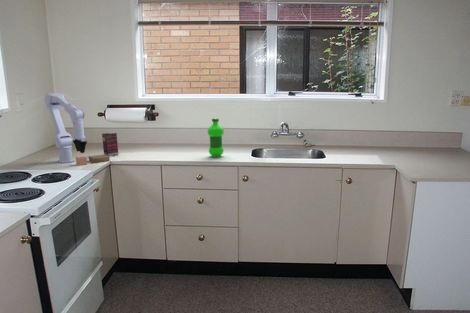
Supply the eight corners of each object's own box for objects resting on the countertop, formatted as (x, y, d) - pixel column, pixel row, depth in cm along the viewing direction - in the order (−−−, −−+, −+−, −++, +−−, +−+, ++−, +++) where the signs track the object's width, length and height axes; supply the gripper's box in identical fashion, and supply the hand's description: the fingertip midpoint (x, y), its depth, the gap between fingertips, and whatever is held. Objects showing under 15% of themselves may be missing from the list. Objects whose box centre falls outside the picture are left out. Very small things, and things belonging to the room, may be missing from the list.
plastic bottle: (206, 157, 254) (204, 119, 249) (212, 154, 264) (211, 117, 259) (220, 158, 251) (219, 119, 246) (226, 155, 260) (225, 118, 256)
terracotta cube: (76, 164, 239) (75, 156, 238) (84, 163, 242) (84, 155, 241) (78, 165, 235) (78, 157, 234) (87, 164, 238) (86, 156, 237)
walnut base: (88, 160, 250) (88, 156, 249) (104, 158, 256) (104, 154, 255) (93, 163, 242) (93, 158, 241) (109, 161, 248) (109, 156, 247)
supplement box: (115, 154, 270) (113, 132, 267) (118, 155, 267) (116, 132, 264) (103, 156, 264) (101, 133, 261) (106, 157, 261) (105, 133, 258)
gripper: (89, 130, 231) (91, 152, 234) (81, 128, 243) (83, 149, 245) (76, 131, 227) (78, 154, 230) (70, 129, 239) (72, 151, 241)
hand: (80, 152), depth 237 cm, fingers open, 7 cm apart
